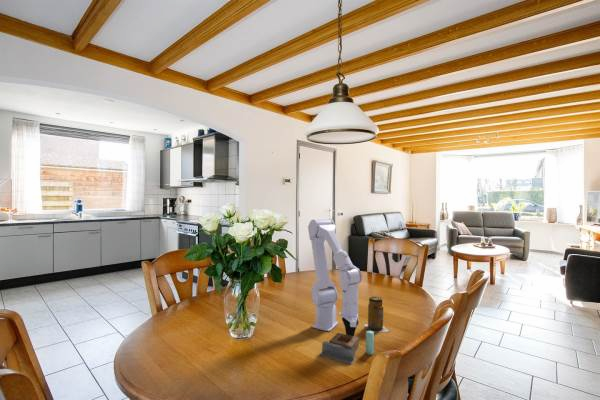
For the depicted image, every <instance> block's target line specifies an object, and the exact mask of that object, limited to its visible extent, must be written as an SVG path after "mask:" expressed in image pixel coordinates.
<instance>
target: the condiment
mask: <svg viewBox="0 0 600 400" xmlns="http://www.w3.org/2000/svg"><path fill="white" fill-rule="evenodd" d="M367 308H368V309H367V323H365V324H363V326H364V327H366V329H368V331H373V332H374V334H377V333H387V332H390V330H389V329H388V328H386V327H385V326H384V305H383V298H382V297H379V296H370V297H369V299H368V305H367Z"/></svg>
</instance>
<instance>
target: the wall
mask: <svg viewBox="0 0 600 400" xmlns="http://www.w3.org/2000/svg"><path fill="white" fill-rule="evenodd" d="M321 347H322V349H321V350H322V351H321V352H320V353H319V357H324V358H326V359H327V358H328V359H331V360H335V361H338V362H341V363H344V364H348V365H352V364H353V363H354V361H355V354H356V352H355V349H352V348H348V347H344V346H340V345H336V344H333V343H329V341H328V342H327V341H322V343H321Z"/></svg>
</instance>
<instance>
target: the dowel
mask: <svg viewBox="0 0 600 400" xmlns="http://www.w3.org/2000/svg"><path fill="white" fill-rule="evenodd" d="M365 341H366V342H365V353H366V354H367V355H370V356H371V355H374V354H373V353H375V352H374V349H375V345H374V344H375V333H374V332H373V331H370V330H367V331H365Z"/></svg>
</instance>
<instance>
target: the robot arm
mask: <svg viewBox="0 0 600 400" xmlns="http://www.w3.org/2000/svg"><path fill="white" fill-rule="evenodd" d="M307 228H308V236H309V241H311V249H312V256H313V263H314V264H313V265H314V269H315V276H316V277H315V278H316V281H315V283H314V284H313V285H312V286H311V296H310V297H311V301H312V303H313V305H314V306H315V323H314V324H313V325H312V326H311V328H312V329H313V328H314V329H317V330H321V331H326V332H331V331H333V329H334V328H335V327H336V326H337V325H338V324H339V321H337V306H336V302H337V301H338V299H339V293H338V290H337V287H336V284H335V283H334V282H333V281H332V280H330V277H329V276H330V275H329V267H328V262H327V256H326V255H327V254H326V247H325V241H326V243H327V244H328V246H329V247H330V249H331V251H332V252H333V257H332V259H333V261H334V263H335V266H336V268H337V270H338V272H339V276H338V280H339V281H340V282H339V283H340V288H341V290H342V293H341V295H342V299H341V300H342V301H341V303H342V305H341V308H342V309H341V310H342V311H341V312H339V313H338V316H339V317H341V321H342V323H343V325H344V330H345V334H346V335H351V336H355V333H356V329H357V327H358V326H359V320H358V318H359V284H360V283H361V282H362V278H363V276H362V273H361V270H360V268H359V267H357V266H355V265H354V264H353V262H352V261H351V258H350V256H349V254H348V252H347V251H345V250H343V249H342V247H341V246H342V245H341V243H340V242H339V239H338V236H337V234H336V229H337V226H336V225H335V221H334V220H333V219H332V218H328V219H311V220H310V221H309V223H308V226H307Z"/></svg>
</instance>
